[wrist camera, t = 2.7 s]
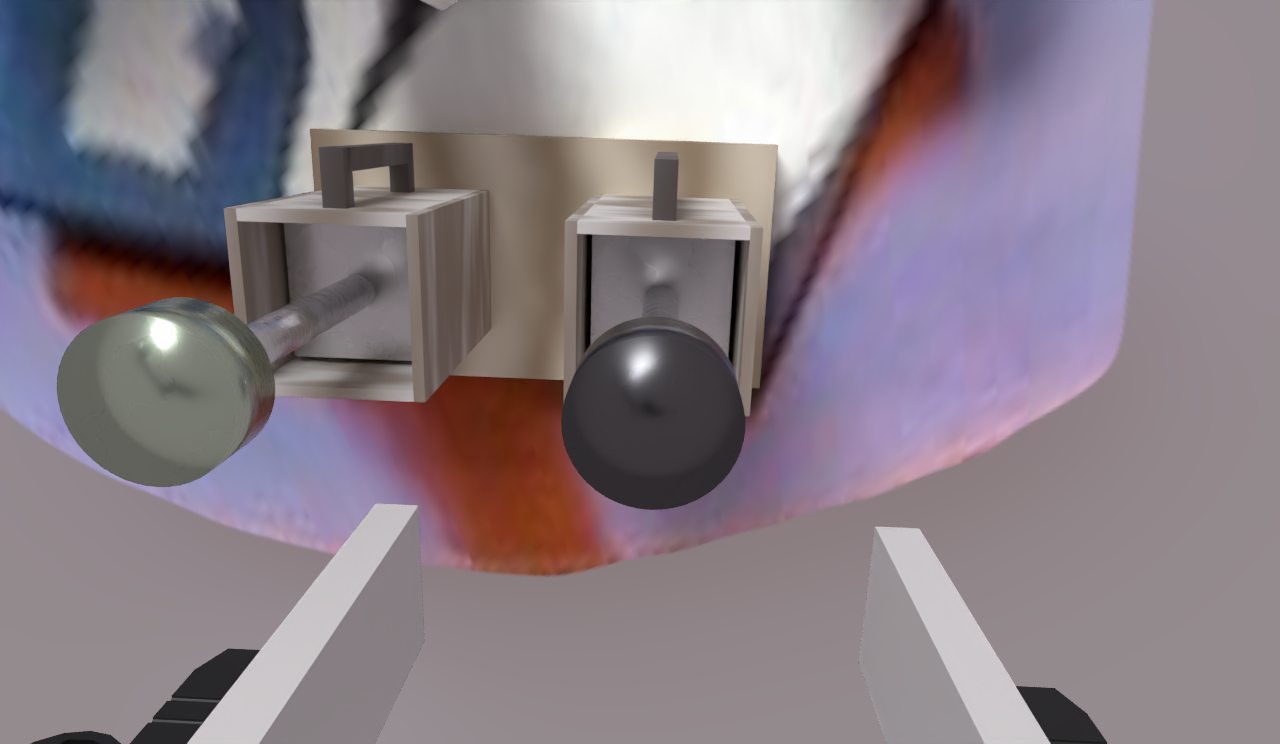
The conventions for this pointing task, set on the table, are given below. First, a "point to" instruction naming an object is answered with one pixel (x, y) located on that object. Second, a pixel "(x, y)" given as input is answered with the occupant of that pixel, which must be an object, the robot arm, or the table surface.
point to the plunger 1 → (229, 356)
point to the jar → (440, 3)
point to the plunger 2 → (656, 372)
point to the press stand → (505, 246)
